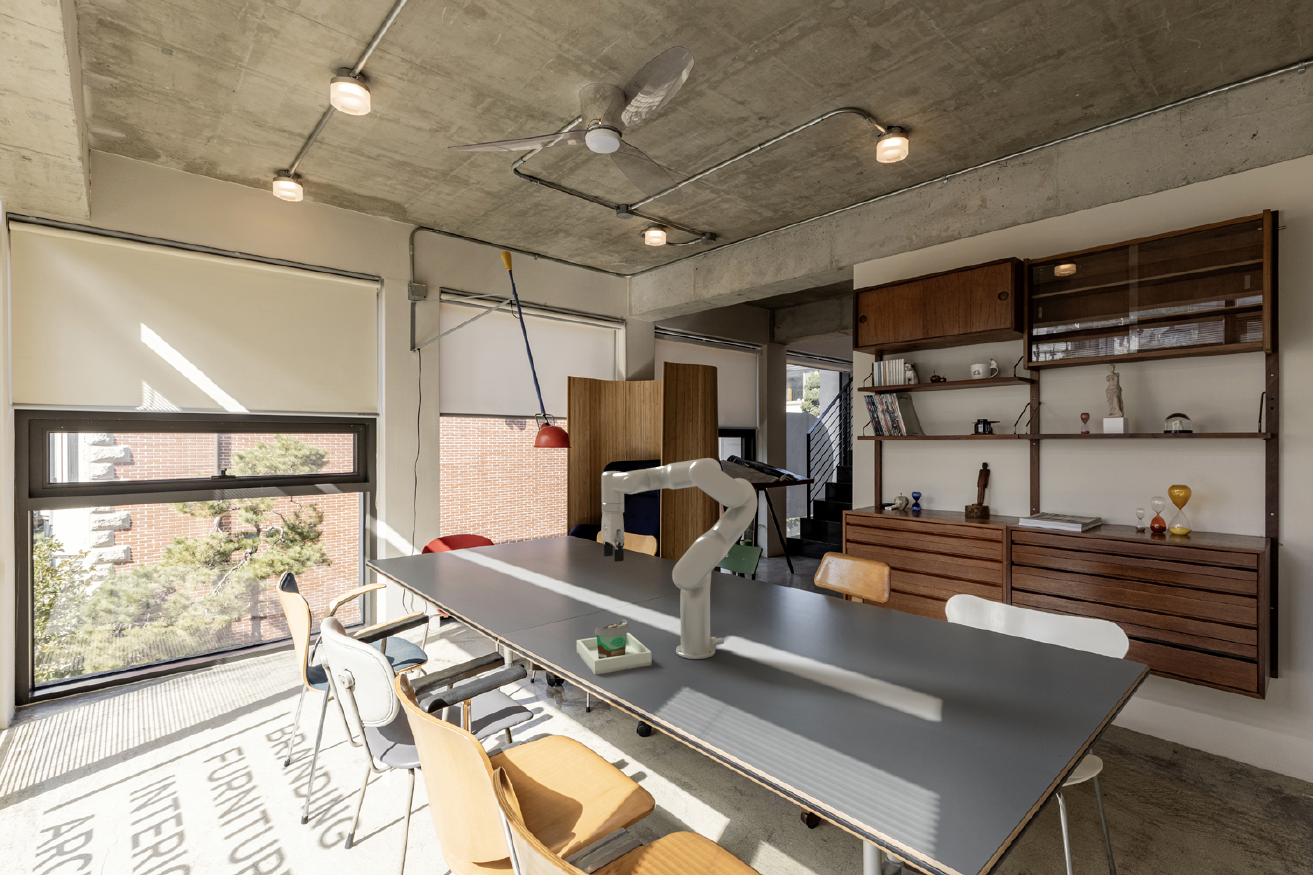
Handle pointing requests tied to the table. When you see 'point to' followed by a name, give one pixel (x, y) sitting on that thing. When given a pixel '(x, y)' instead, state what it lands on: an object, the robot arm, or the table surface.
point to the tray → (633, 656)
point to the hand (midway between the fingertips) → (613, 558)
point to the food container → (612, 640)
